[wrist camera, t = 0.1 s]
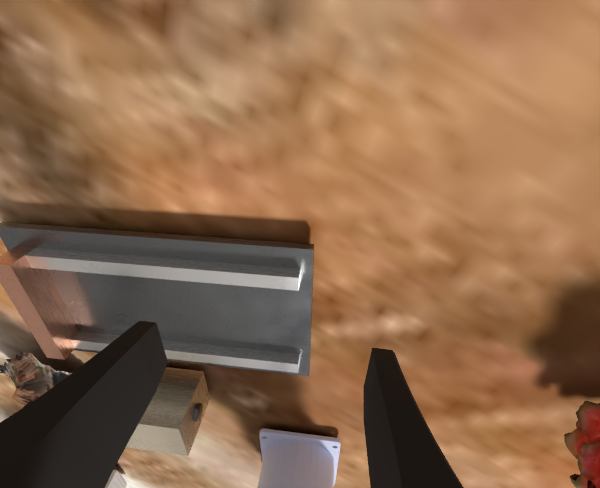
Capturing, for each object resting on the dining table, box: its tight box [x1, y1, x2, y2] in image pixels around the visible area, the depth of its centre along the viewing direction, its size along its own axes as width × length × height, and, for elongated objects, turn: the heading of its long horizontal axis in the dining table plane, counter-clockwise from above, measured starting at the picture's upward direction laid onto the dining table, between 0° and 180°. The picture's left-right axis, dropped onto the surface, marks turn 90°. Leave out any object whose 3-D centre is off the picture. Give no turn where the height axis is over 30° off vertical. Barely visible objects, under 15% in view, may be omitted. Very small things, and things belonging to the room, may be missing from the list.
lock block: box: [126, 367, 210, 456], centre depth 28 cm, size 4×7×5 cm, turn 90°
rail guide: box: [0, 222, 314, 376], centre depth 23 cm, size 12×21×3 cm, turn 90°
